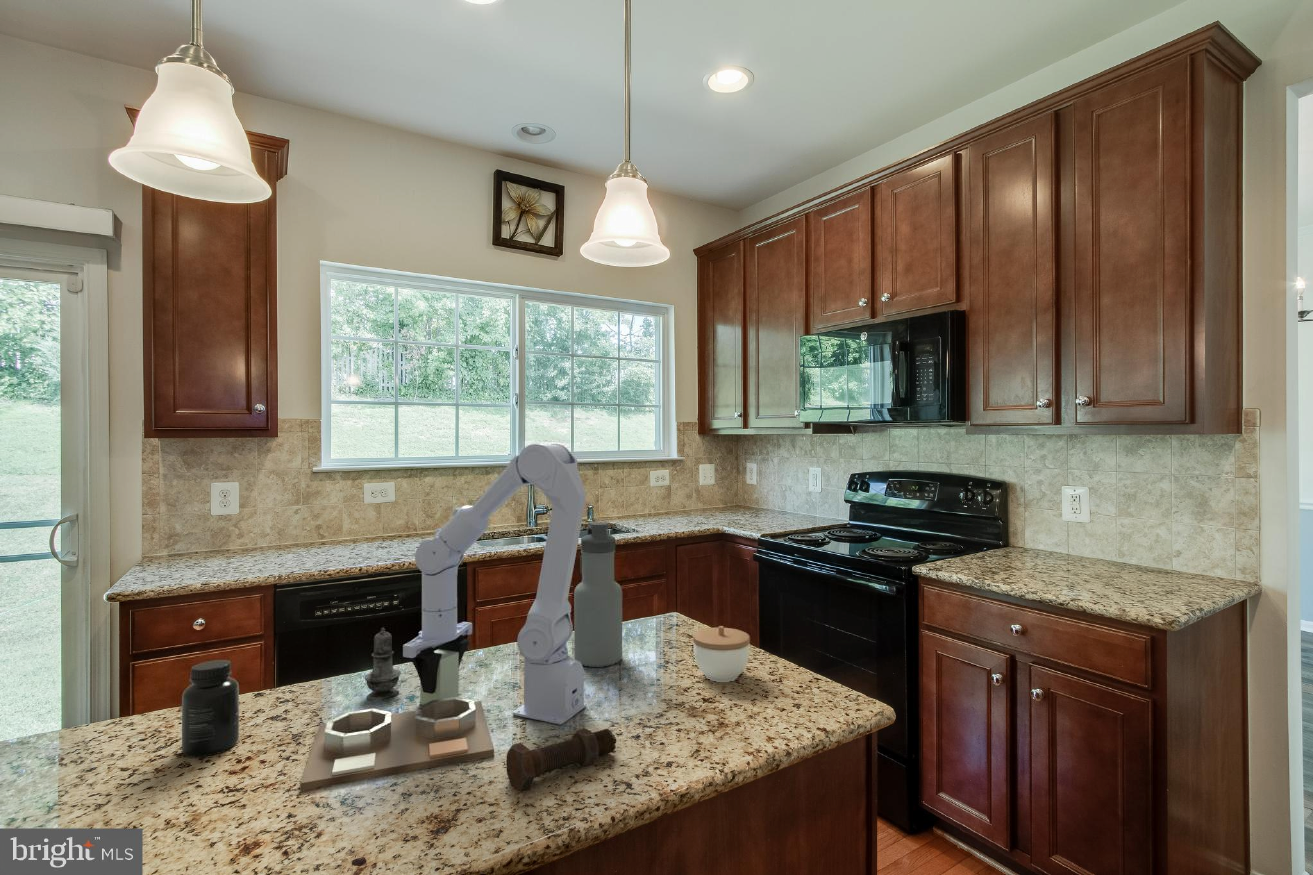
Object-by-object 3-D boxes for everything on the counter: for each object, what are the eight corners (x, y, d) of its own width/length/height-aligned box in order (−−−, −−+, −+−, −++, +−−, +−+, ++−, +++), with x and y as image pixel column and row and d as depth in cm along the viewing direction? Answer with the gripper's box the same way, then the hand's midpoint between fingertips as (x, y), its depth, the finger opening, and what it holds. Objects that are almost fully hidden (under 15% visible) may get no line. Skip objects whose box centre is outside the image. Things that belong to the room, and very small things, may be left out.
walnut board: (480, 706, 105) (480, 700, 105) (494, 756, 89) (494, 749, 89) (319, 731, 97) (319, 724, 97) (300, 790, 80) (300, 783, 80)
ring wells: (472, 709, 102) (472, 694, 102) (477, 732, 94) (477, 715, 94) (329, 731, 94) (329, 714, 94) (322, 757, 86) (322, 739, 86)
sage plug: (458, 698, 109) (458, 652, 109) (440, 708, 105) (440, 660, 105) (438, 694, 111) (438, 648, 111) (420, 703, 107) (420, 656, 107)
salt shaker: (387, 703, 107) (387, 632, 107) (356, 700, 108) (357, 630, 108) (407, 690, 113) (407, 623, 113) (378, 687, 114) (378, 621, 114)
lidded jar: (682, 680, 117) (682, 629, 117) (709, 662, 126) (708, 616, 126) (735, 691, 112) (735, 638, 112) (758, 672, 121) (758, 624, 121)
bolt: (613, 768, 89) (515, 802, 80) (597, 739, 93) (502, 768, 83) (626, 739, 87) (527, 770, 78) (609, 711, 91) (512, 737, 81)
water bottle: (571, 653, 132) (571, 520, 133) (617, 649, 135) (616, 519, 135) (577, 670, 122) (576, 526, 123) (626, 666, 125) (626, 524, 125)
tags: (465, 740, 91) (465, 737, 91) (467, 751, 88) (467, 748, 88) (335, 762, 85) (335, 759, 85) (332, 775, 82) (332, 772, 82)
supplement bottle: (249, 740, 94) (250, 659, 94) (203, 762, 87) (204, 675, 88) (217, 733, 96) (217, 654, 96) (169, 754, 90) (170, 669, 90)
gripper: (450, 596, 116) (450, 669, 116) (388, 615, 103) (388, 698, 103) (481, 599, 114) (481, 675, 113) (421, 620, 100) (421, 705, 100)
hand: (439, 686), depth 108 cm, fingers closed on sage plug, 4 cm apart
